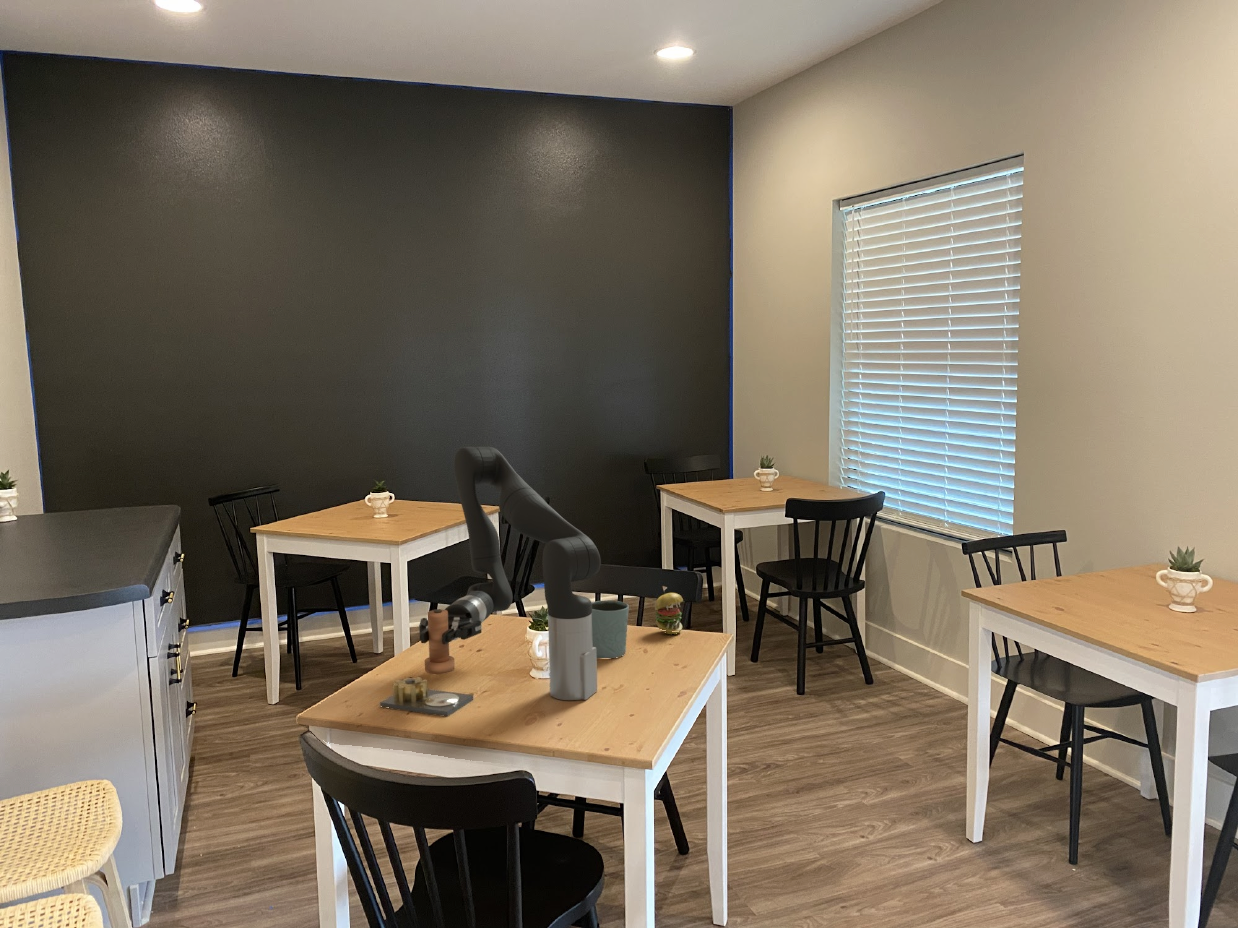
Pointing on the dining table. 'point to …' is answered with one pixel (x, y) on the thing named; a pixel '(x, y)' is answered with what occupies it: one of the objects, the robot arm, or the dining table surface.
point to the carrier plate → (432, 703)
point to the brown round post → (438, 644)
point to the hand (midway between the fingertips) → (433, 638)
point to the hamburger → (668, 612)
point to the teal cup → (609, 628)
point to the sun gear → (410, 689)
